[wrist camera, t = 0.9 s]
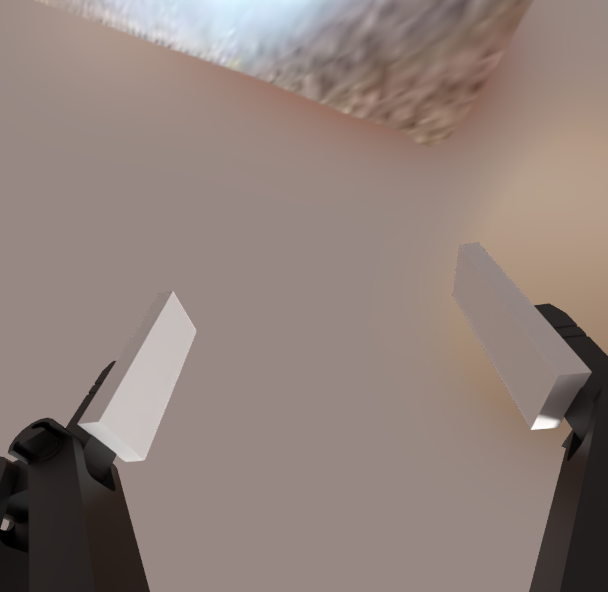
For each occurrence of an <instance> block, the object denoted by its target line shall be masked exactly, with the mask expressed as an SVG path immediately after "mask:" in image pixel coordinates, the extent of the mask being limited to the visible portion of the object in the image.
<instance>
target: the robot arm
mask: <svg viewBox="0 0 608 592" xmlns="http://www.w3.org/2000/svg"><path fill="white" fill-rule="evenodd" d="M453 297H454V298H455V300H456V302H457V304H458V305H459V307H460V309H461V310H462V312H463V314H464V316H465V317H466V319H467V321H468V322H469V324H470V326H471V328H472V329H473V331H474V333H475V335H476V336H477V338H478V340H479V341H480V343H481V345H482V347H483V348H484V350H485V351H486V353H487V355H488V357H489V359H490V360H491V362H492V364H493V365H494V367H495V369H496V371H497V372H498V374H499V376H500V377H501V379H502V381H503V383H504V384H505V386H506V388H507V389H508V391H509V393H510V395H511V396H512V398H513V400H514V402H515V403H516V405H517V407H518V408H519V410H520V412H521V414H522V415H523V417H524V419H525V421H526V422H527V424H528V426H529V427H530V429H531V430H533V429H545V428H557V427H558V426H559V425H560V423H561V422H562V420H563V418H564V417H565V419H566V420H567V421H568V423H569V424H570V426H571V427H572V429H573V430H572V431H571V433H570V434H569V436H568V437H567V439H566V440H565V441H564V443H563V445H562V447H564V448H566V450H565V454H564V458H563V462H562V466H561V470H560V474H559V477H558V481H557V485H556V489H555V493H554V497H553V501H552V505H551V509H550V513H549V517H548V520H547V524H546V528H545V532H544V536H543V540H542V544H541V548H540V552H539V555H538V559H537V563H536V567H535V571H534V575H533V579H532V583H531V587H530V591H529V592H608V356H607V355H606V354H605V353H604V352H603V351H602V350H601V349H600V348H599V347H598V345H596V343H595V342H594V341H593V340H592V339H591V338H590V337H587V336H586V333H585V332H584V331H583V330H582V329H581V328H580V327H577V324H576V323H575V322H574V321H573V320H572V319H571V318H570V317H569V316H568V315H567V314H566V313H565V312H563V311H562V310H560V309H558V308H556V307H555V306H553V305H551V304H542V305H533V304H532V303H531V302H530V301H529V300H528V298H527V297H526V296H525V295H524V294H523V293H522V292H521V290H520V289H519V288H518V287H517V286H516V285H515V284H514V283H513V281H512V280H511V279H510V278H509V277H508V276H507V275H506V273H505V272H504V271H503V270H502V269H501V268H500V266H499V265H498V264H497V263H496V262H495V261H494V260H493V258H492V257H491V256H490V255H489V254H488V253H487V252H486V250H485V249H484V248H483V247H482V246H481V245H480V244H479V242H477V243H471V244H464V245H459V251H458V258H457V267H456V274H455V281H454V289H453ZM195 334H196V329H195V327H194V326H193V324H192V322H191V321H190V319H189V317H188V316H187V314H186V312H185V311H184V309H183V307H182V305H181V304H180V302H179V301H178V299H177V297H176V296H175V294H174V292H173V291H171V292H164V293H159V294H158V295H157V297H156V298H155V300H154V302H153V303H152V305H151V306H150V308H149V310H148V311H147V313H146V315H145V316H144V318H143V319H142V321H141V322H140V324H139V326H138V327H137V329H136V330H135V332H134V334H133V335H132V337H131V338H130V340H129V342H128V343H127V345H126V346H125V348H124V350H123V351H122V353H121V355H120V356H119V358H118V360H117V361H113V362H112V363H111V364H109V365H108V367H106V368H105V369H104V370H103V371H102V373H101V374H100V376H99V377H98V379H97V380H96V382H95V385H94V386H93V387H92V388H91V390H90V391H89V395H87V396H86V397H85V399H84V400H83V402H82V403H81V405H80V407H79V408H78V410H77V411H76V413H75V414H74V416H73V418H72V419H71V421H70V422H69V424H68V425H67V427H66V428H64V427H63V426H62V425H60V424H59V423H57V422H56V421H55V420H53V419H50V418H44V419H40V420H38V421H36V422H34V423H32V424H30V425H29V426H28V427H26V428H25V429H24V430H22V431H21V433H19V435H17V437H16V438H15V439H14V440H13V442H12V444H11V445H10V447H9V450H8V453H9V454H10V455H12V456H14V457H16V458H17V459H19V460H17V461H15V462H12V461H10V460H8V459H6V458H5V457H0V528H1V525H2V521H3V518H4V519H6V520H9V521H10V522H9V526H8V528H7V530H6V531H4V530H1V529H0V592H150V590H149V586H148V583H147V579H146V576H145V572H144V568H143V564H142V560H141V556H140V553H139V549H138V545H137V541H136V538H135V534H134V530H133V527H132V523H131V519H130V515H129V511H128V508H127V504H126V501H125V497H124V493H123V489H122V485H121V481H120V478H119V474H118V470H117V468H116V466H115V465H114V464H113V461H114V459H115V457H116V455H118V456H119V457H120V458H121V459H123V460H124V461H125V462H130V461H142V460H145V458H146V455H147V453H148V451H149V448H150V446H151V443H152V441H153V438H154V436H155V433H156V430H157V428H158V425H159V423H160V421H161V418H162V416H163V413H164V411H165V408H166V406H167V403H168V401H169V398H170V396H171V393H172V391H173V388H174V386H175V383H176V381H177V379H178V376H179V374H180V371H181V369H182V366H183V364H184V361H185V358H186V356H187V354H188V351H189V349H190V346H191V344H192V341H193V339H194V336H195Z"/></svg>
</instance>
